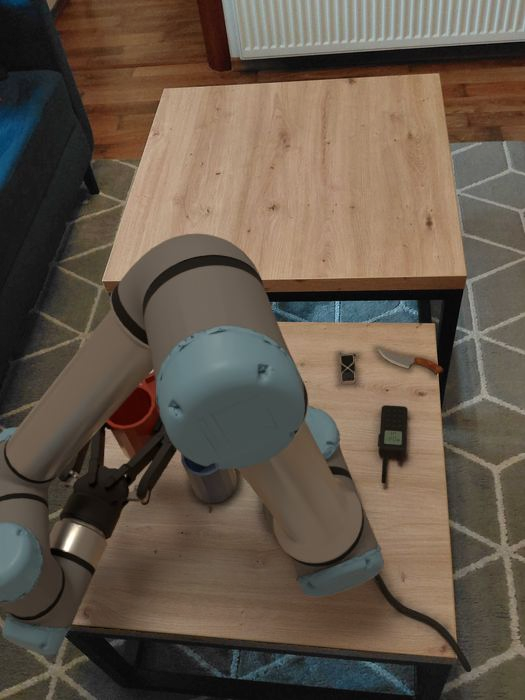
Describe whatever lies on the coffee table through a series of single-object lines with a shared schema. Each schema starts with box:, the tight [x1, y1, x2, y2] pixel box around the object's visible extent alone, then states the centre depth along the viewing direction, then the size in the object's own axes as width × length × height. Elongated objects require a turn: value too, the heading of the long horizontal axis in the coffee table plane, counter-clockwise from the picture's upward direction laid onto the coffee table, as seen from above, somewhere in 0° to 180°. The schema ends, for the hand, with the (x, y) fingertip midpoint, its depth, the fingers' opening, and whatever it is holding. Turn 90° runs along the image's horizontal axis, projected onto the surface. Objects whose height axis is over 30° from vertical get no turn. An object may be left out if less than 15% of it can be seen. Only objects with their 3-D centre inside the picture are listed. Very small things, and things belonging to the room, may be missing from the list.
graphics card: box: [339, 352, 357, 385], centre depth 126 cm, size 7×1×3 cm
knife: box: [377, 348, 444, 375], centre depth 126 cm, size 13×1×3 cm
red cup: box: [106, 384, 160, 462], centre depth 99 cm, size 8×8×10 cm
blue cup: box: [180, 453, 238, 504], centre depth 111 cm, size 8×8×10 cm
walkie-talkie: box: [377, 404, 408, 485], centre depth 113 cm, size 5×3×15 cm
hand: (148, 395), depth 101 cm, fingers closed on red cup, 8 cm apart
